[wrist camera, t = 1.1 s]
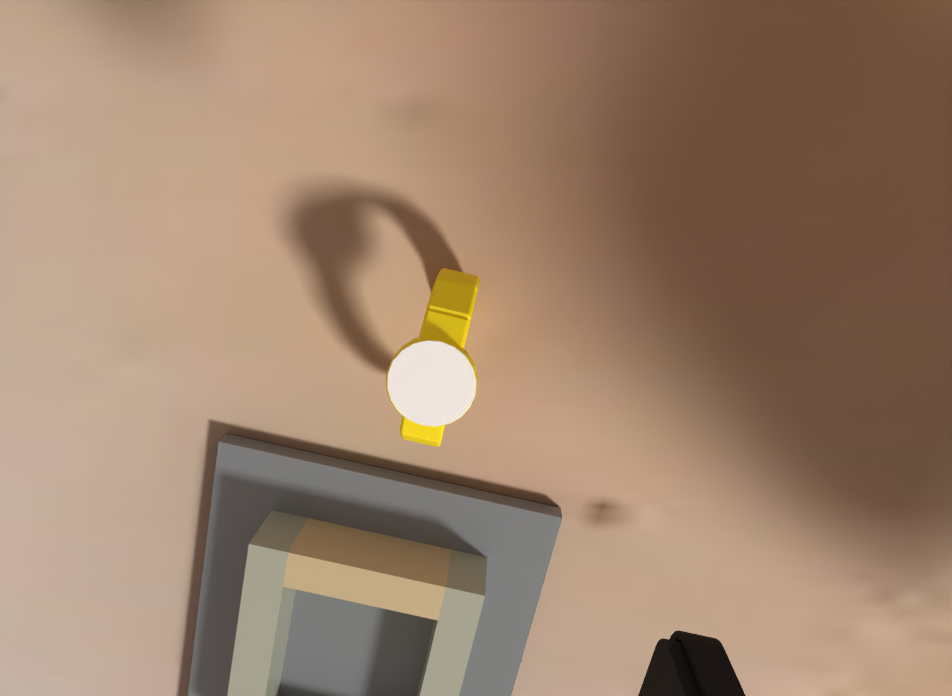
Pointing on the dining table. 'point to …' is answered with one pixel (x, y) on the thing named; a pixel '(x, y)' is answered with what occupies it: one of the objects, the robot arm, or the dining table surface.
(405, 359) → the watch
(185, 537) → the dining table surface
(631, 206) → the dining table surface
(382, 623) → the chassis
